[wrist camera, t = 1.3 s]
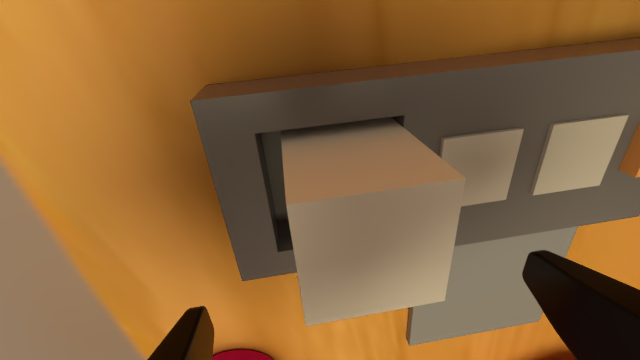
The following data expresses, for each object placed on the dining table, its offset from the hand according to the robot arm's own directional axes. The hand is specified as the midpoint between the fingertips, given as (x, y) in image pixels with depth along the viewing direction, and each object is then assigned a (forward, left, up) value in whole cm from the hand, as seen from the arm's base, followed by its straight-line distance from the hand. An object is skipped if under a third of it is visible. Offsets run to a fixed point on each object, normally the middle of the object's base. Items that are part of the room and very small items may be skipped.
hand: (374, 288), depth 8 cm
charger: (0, 0, -8) cm, 8 cm away
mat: (-11, +11, -9) cm, 18 cm away
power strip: (-6, 0, -9) cm, 11 cm away
